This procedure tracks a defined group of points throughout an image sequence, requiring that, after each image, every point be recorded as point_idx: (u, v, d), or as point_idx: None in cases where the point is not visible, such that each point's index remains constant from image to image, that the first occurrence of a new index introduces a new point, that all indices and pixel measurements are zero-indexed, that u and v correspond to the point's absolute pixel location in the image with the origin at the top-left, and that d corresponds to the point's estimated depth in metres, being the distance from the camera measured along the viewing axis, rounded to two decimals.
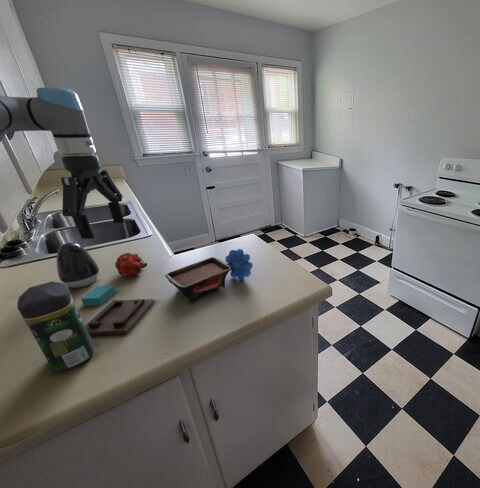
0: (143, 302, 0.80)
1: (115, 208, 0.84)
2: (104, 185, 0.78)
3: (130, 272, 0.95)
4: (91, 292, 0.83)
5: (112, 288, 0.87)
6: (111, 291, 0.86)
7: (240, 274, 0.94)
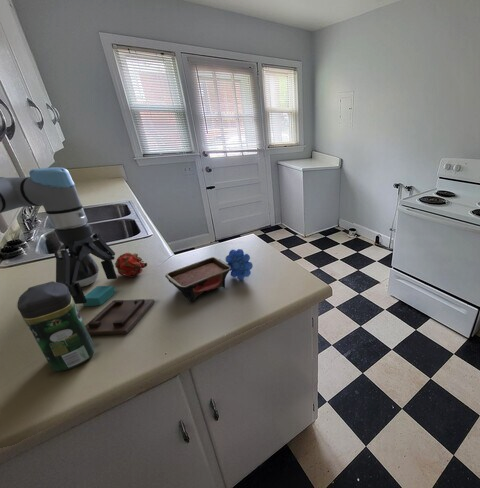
0: (143, 302, 0.80)
1: (108, 266, 0.88)
2: (96, 248, 0.82)
3: (130, 272, 0.95)
4: (91, 292, 0.83)
5: (112, 288, 0.87)
6: (111, 291, 0.86)
7: (240, 274, 0.94)
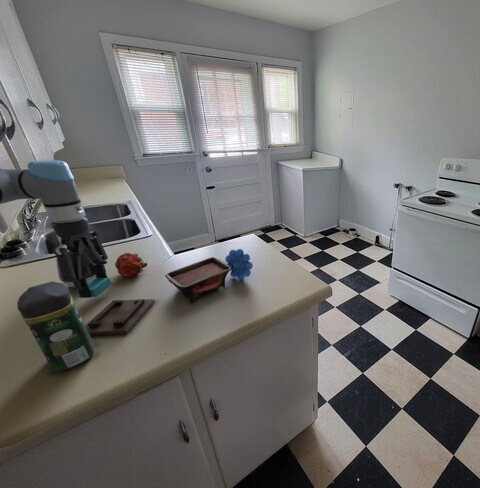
0: (143, 302, 0.80)
1: (100, 271, 0.85)
2: (92, 246, 0.80)
3: (130, 272, 0.95)
4: None
5: (108, 280, 0.85)
6: (107, 283, 0.85)
7: (240, 274, 0.94)
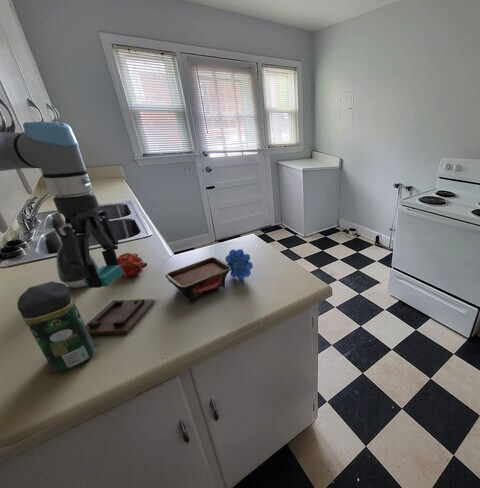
0: (143, 302, 0.80)
1: (111, 257, 0.73)
2: (101, 227, 0.69)
3: (130, 272, 0.95)
4: None
5: (120, 268, 0.74)
6: (119, 271, 0.74)
7: (240, 274, 0.94)
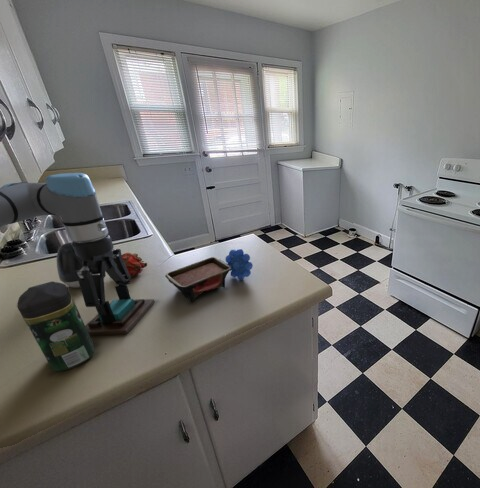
0: (143, 302, 0.80)
1: (123, 292, 0.77)
2: (115, 266, 0.73)
3: (130, 272, 0.95)
4: None
5: (132, 302, 0.78)
6: (131, 305, 0.77)
7: (240, 274, 0.94)
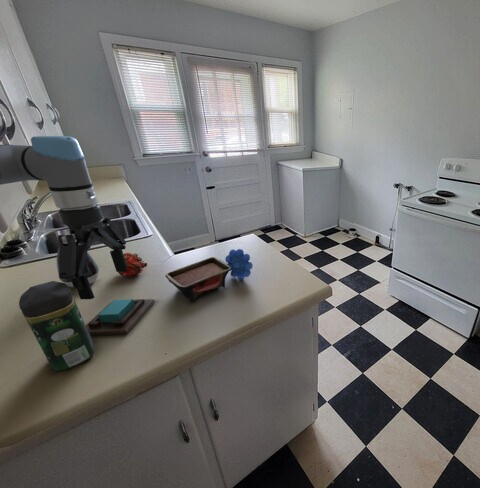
0: (143, 302, 0.80)
1: (118, 257, 0.76)
2: (106, 235, 0.70)
3: (130, 272, 0.95)
4: (109, 307, 0.75)
5: (132, 302, 0.78)
6: (131, 305, 0.77)
7: (240, 274, 0.94)
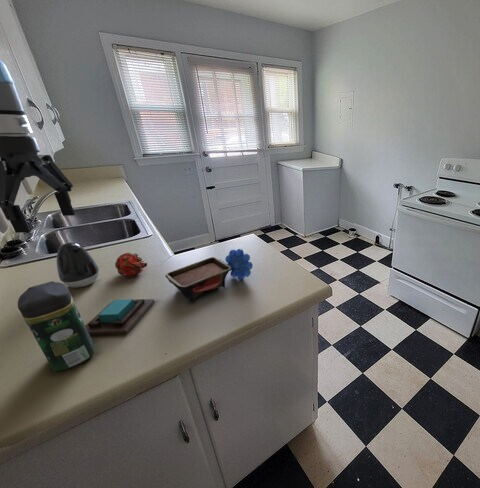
0: (143, 302, 0.80)
1: (63, 199, 0.75)
2: (46, 172, 0.68)
3: (130, 272, 0.95)
4: (109, 307, 0.75)
5: (132, 302, 0.78)
6: (131, 305, 0.77)
7: (240, 274, 0.94)
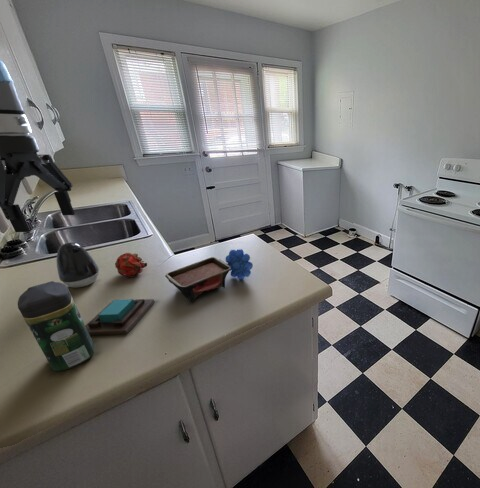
0: (143, 302, 0.80)
1: (63, 199, 0.75)
2: (45, 171, 0.68)
3: (130, 272, 0.95)
4: (109, 307, 0.75)
5: (132, 302, 0.78)
6: (131, 305, 0.77)
7: (240, 274, 0.94)
